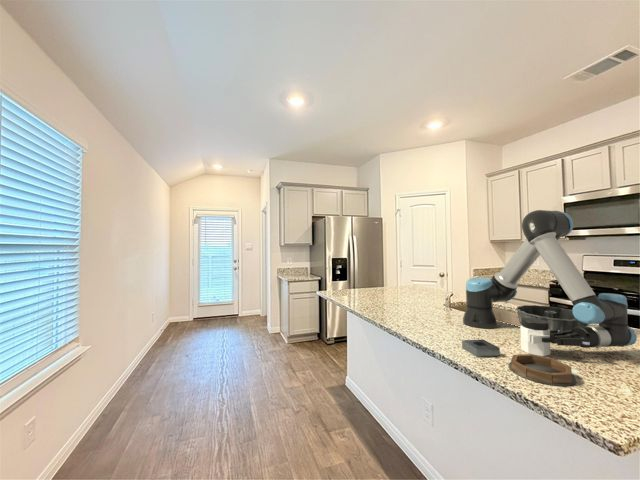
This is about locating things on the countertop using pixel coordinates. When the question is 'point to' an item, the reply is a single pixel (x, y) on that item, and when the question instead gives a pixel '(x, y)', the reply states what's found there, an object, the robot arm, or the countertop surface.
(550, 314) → the bundt pan
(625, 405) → the countertop surface
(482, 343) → the square socket
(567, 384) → the brown octagonal tray
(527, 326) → the jar
